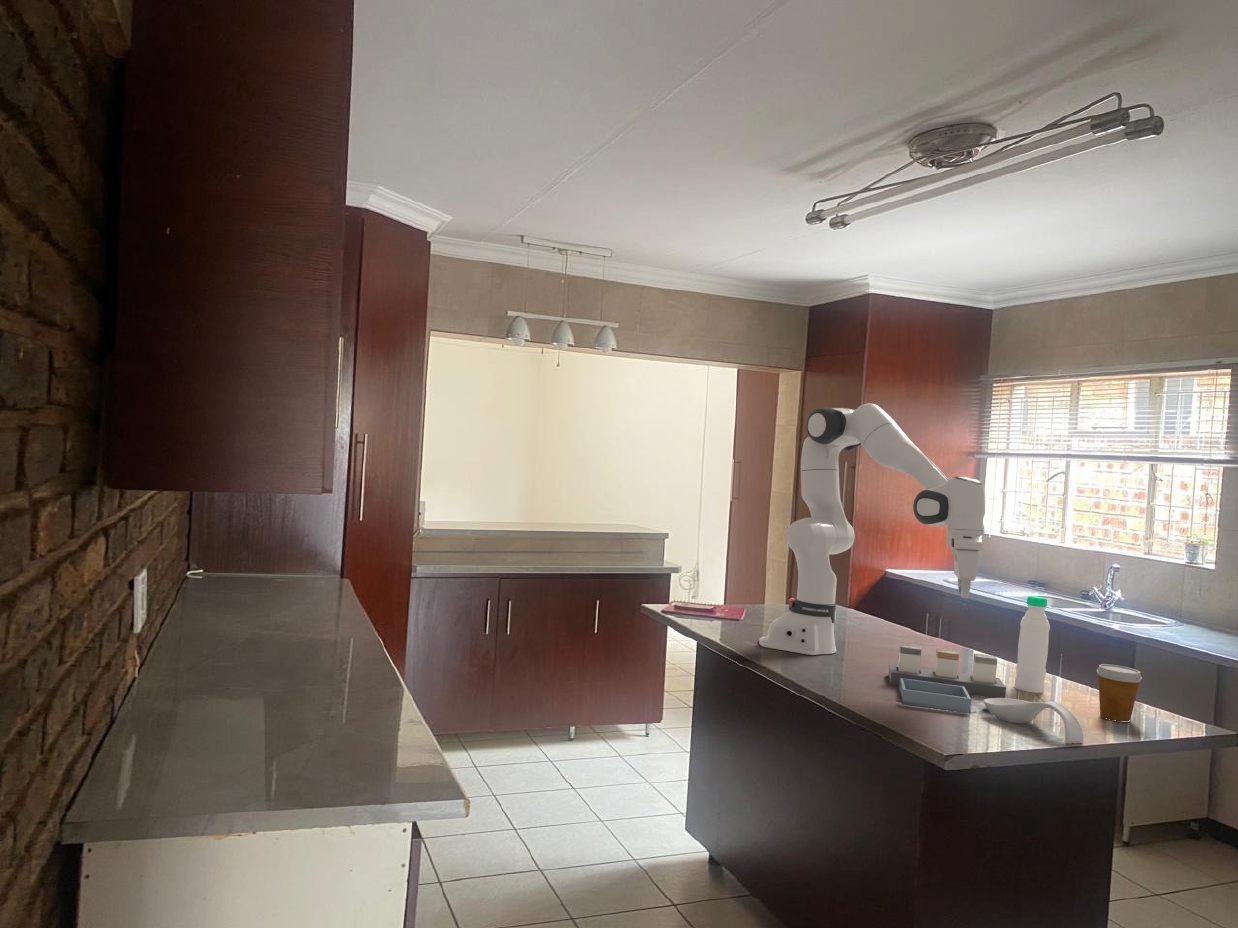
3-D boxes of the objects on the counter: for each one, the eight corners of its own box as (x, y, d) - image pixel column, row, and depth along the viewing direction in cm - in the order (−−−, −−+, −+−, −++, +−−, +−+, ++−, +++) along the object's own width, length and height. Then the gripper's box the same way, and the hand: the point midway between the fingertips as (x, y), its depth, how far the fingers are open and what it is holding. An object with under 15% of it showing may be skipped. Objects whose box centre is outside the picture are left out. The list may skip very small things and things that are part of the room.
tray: (902, 704, 211) (903, 689, 211) (898, 691, 223) (900, 677, 223) (969, 713, 208) (971, 698, 208) (963, 700, 219) (964, 686, 219)
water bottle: (1045, 698, 229) (1054, 600, 228) (1015, 693, 231) (1023, 596, 231) (1042, 691, 236) (1051, 596, 235) (1013, 687, 238) (1021, 593, 238)
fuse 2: (972, 692, 225) (976, 656, 225) (970, 688, 228) (973, 653, 228) (994, 695, 224) (997, 659, 223) (991, 691, 227) (995, 656, 227)
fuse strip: (889, 687, 226) (891, 672, 226) (887, 678, 236) (889, 663, 236) (1004, 703, 220) (1006, 687, 220) (997, 693, 230) (999, 677, 230)
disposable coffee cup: (1147, 724, 211) (1152, 674, 211) (1115, 725, 208) (1119, 673, 208) (1114, 712, 220) (1119, 663, 220) (1083, 712, 217) (1087, 663, 217)
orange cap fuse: (934, 687, 227) (938, 651, 227) (933, 683, 230) (936, 648, 230) (955, 689, 226) (959, 654, 226) (954, 686, 229) (957, 651, 229)
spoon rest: (971, 712, 210) (974, 682, 210) (1008, 710, 215) (1011, 680, 215) (1056, 746, 188) (1059, 712, 188) (1096, 743, 193) (1099, 710, 193)
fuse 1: (897, 681, 229) (900, 646, 229) (896, 678, 232) (899, 644, 232) (918, 684, 228) (921, 649, 228) (917, 681, 231) (920, 646, 231)
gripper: (949, 538, 238) (947, 591, 238) (954, 542, 218) (952, 599, 218) (974, 540, 236) (973, 592, 236) (982, 543, 217) (980, 601, 216)
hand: (963, 595), depth 227 cm, fingers open, 8 cm apart
